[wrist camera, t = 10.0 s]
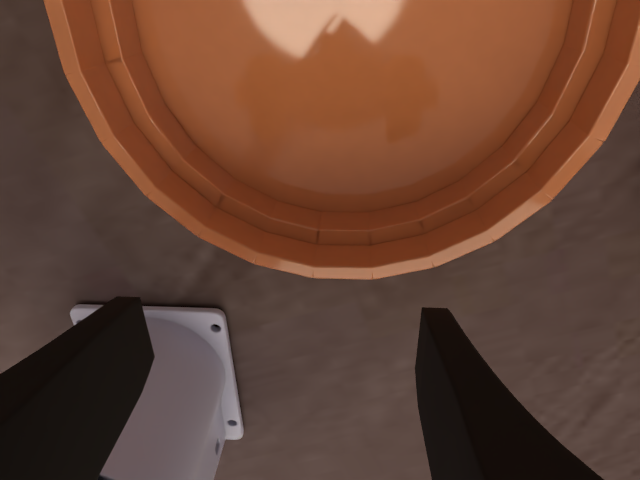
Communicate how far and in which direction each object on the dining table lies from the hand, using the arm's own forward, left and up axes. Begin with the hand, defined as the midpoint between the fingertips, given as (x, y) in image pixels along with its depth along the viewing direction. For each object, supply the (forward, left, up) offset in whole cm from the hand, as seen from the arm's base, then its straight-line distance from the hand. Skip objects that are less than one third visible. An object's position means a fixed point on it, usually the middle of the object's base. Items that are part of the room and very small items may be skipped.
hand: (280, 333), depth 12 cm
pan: (+7, -1, -9) cm, 11 cm away
